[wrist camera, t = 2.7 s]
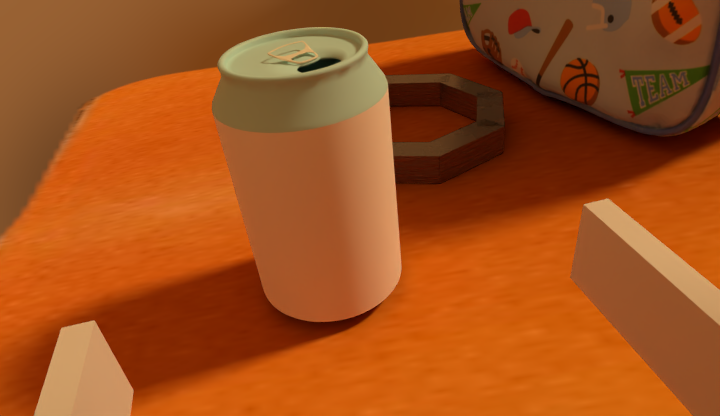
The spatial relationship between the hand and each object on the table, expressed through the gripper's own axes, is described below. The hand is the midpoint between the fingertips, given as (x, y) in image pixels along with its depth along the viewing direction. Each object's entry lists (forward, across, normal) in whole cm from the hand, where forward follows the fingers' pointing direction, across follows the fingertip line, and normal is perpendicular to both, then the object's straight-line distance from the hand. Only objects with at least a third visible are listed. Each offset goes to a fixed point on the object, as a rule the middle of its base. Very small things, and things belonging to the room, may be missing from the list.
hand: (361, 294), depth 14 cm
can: (+10, 0, -8) cm, 13 cm away
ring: (+24, +9, -8) cm, 26 cm away
